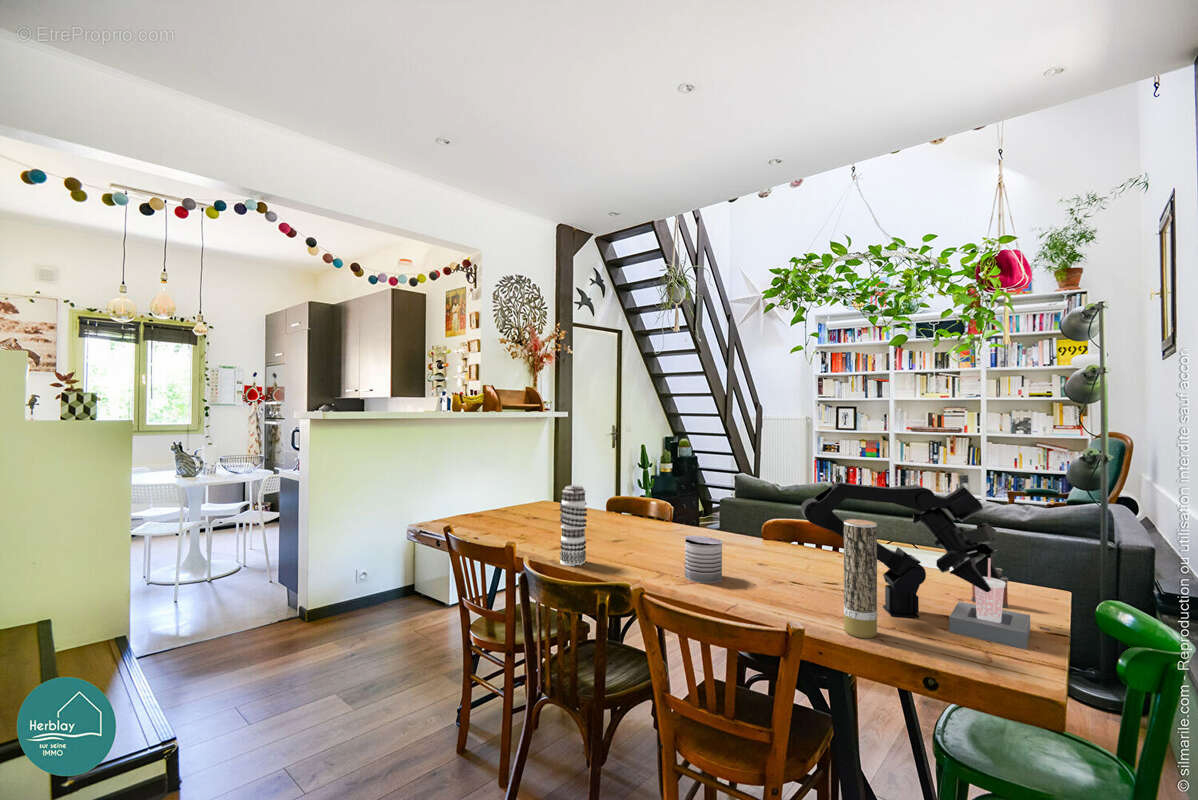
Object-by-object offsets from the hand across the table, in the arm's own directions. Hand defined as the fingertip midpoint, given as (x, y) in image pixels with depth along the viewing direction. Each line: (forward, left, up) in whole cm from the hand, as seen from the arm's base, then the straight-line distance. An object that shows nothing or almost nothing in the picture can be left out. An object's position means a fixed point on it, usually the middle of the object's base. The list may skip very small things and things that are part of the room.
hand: (995, 589), depth 127 cm
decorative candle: (-107, +40, -10) cm, 114 cm away
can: (-65, +31, -10) cm, 73 cm away
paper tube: (-31, -6, -10) cm, 33 cm away
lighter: (+9, +22, -10) cm, 26 cm away
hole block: (-1, +1, -10) cm, 10 cm away
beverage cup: (-1, +1, -7) cm, 8 cm away
